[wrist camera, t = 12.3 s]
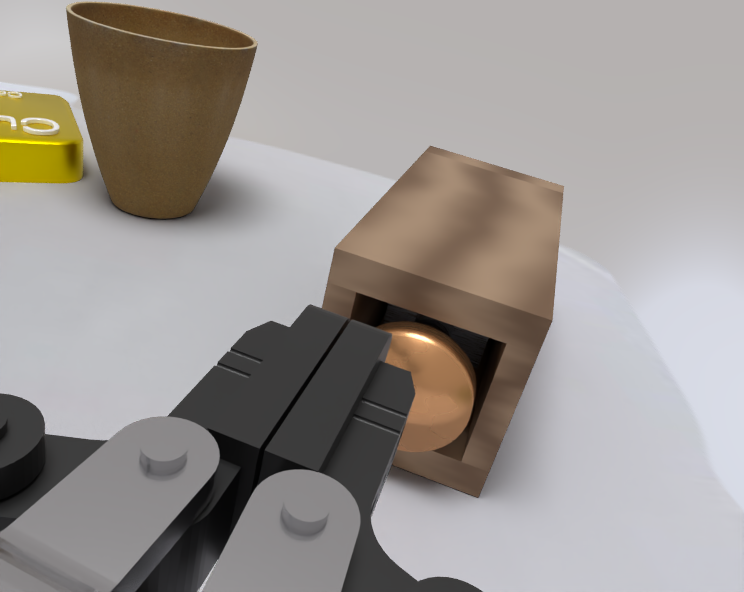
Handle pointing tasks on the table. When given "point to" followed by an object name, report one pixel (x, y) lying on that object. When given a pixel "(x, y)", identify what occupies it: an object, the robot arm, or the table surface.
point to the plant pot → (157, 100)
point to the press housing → (460, 284)
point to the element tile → (38, 139)
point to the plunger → (434, 375)
